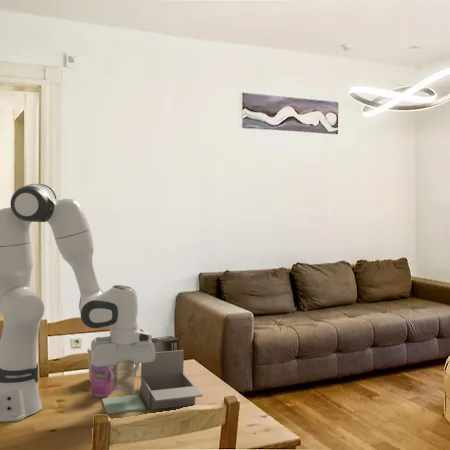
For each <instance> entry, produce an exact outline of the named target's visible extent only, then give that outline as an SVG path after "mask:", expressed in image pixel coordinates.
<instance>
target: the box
mask: <svg viewBox="0 0 450 450" xmlns="http://www.w3.org/2000/svg"><path fill="white" fill-rule="evenodd" d="M112 371H113V372H114V366H113V369H112ZM90 383H91V385H90V396H91V397H95V398H108V396H109V395H111V394H112V393H113V392H114V391H116V389H115V387H114V379H112V378H111V372H110V371H109V369H108V366H104V367H94V366H93V364H92V366H91V382H90Z"/></svg>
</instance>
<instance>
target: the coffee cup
mask: <svg viewBox="0 0 450 450" xmlns="http://www.w3.org/2000/svg"><path fill="white" fill-rule="evenodd" d="M92 352H93V351H92V350H91V345H90V346H88V348H87V362H88V363H87V364H88V365H87V366H88V375H89V381H90V383H91V366H92Z"/></svg>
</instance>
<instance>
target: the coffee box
mask: <svg viewBox="0 0 450 450" xmlns="http://www.w3.org/2000/svg"><path fill="white" fill-rule="evenodd" d="M151 341H152V343H153V344H154V348H155V352H167V351H179V350H180V349H179V346H180V345H179V342H180V340H179V338H177V337H175V336H173V335H169V336H160V337H152V340H151Z"/></svg>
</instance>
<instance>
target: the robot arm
mask: <svg viewBox="0 0 450 450" xmlns="http://www.w3.org/2000/svg"><path fill="white" fill-rule="evenodd" d="M34 222H35V223H48V224H49V226H50V228H51V231H52V234H53V237H54V240H55V244H56V247H57V249H58V251H59V253H60V255H61V257H62V259H63V260H64V261H65V262H66V263H67V264H68V265H69V266H70V267H71V269H72V271H73V273H74V275H75V276H74V277H75V279H76V282H77V286H78V289H79V293H80V297H79V304H78V306H79V307H78V309H79V312H80V313H79V314H80V319H81V321H82V324H84V325H85V326H86V327H88V328H91V329H100V328H106V327H109V336H101V337H100V336H98V337H95V338H94V339H93V340H91V342H90V346H91V350H92V351H93V352H92V364H93V366H94V367H104V366H108V369H109V371H110V372H111V378H112V379H116V372H113V371H112V369H113V366H114V365H117V362H121V361H132V360H133V362H134V378H136V377H137V372H138V370H139V369H140V368H141V363H146V362H153V361H154V360H155V348H154V344H153V343H152V341H151V340H152V338H153V336H152V334H151V333H150V332H149V330H147V329H142V328H140V327H139V326H138V320H137V316H138V313H139V312H138V311H139V310H138V309H139V307H138V306H139V305H138V295H137V292H136V291H135V289H134V288H132V287H131V286H127V285H122V284H119V285H117V284H115V285H112V287H110V288H109V289H108V290H106V291H104V292H103V291H102V289H101V288H100V285H99V282H98V279H97V276H96V272H95V269H94V266H93V256H94V251H95V250H94V240H93V235H92V231H91V227H90V225H89V222H88V220H87V217H86V214H85V213H84V210H83V207H82V206H81V204H80V203H79V202H78V200H75V199H72V198H62V199H57V195H56V193H55V192H54V190H53V189H52V188H51V187H50V186H49V185H46V184H43V183H30V184H27V185H25V186H21V187H20V188H18V189H16V191H14V193H13V194H12V196H11V199H10V206H9V207H4V208H1V209H0V316H2V318H3V328H2V334H1V338H0V422H17V421H21V420H23V419H26V417H29V416H32V415H34V414H36V413H38V412H39V411H41V410H42V408H43V404H42V400H41V397H40V392H39V391H40V390H39V377H40V375H39V374H40V372H39V371H40V367H39V362H38V335H39V330H40V325H41V320H42V318H43V317H44V314H45V304H44V302H43V300H42V299H41V297H40V296H39V294H38V293H37V292H34V291H32V289H31V277H32V271H33V266H34V265H33V264H34V263H33V255H32V246H31V244H32V243H31V236H30V235H31V234H30V226H31V224H32V223H34ZM138 327H139V328H138Z"/></svg>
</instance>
